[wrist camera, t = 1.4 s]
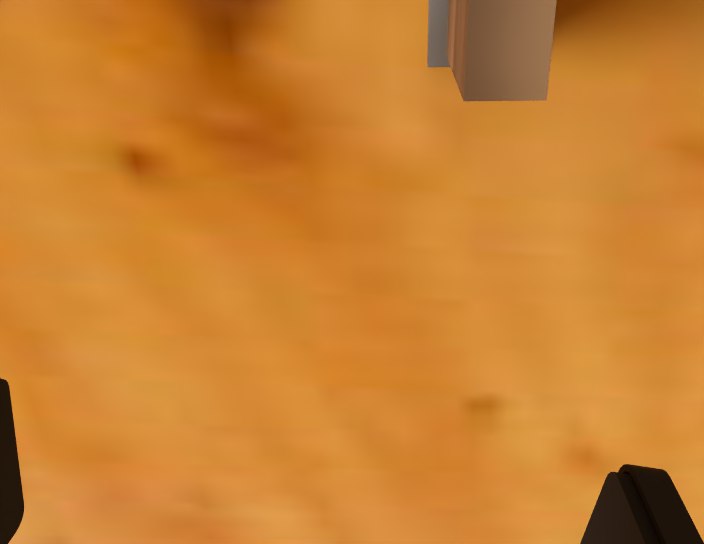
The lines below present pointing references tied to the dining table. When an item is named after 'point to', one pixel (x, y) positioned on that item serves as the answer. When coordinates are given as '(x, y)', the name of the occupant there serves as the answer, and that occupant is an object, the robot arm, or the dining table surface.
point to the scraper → (493, 46)
